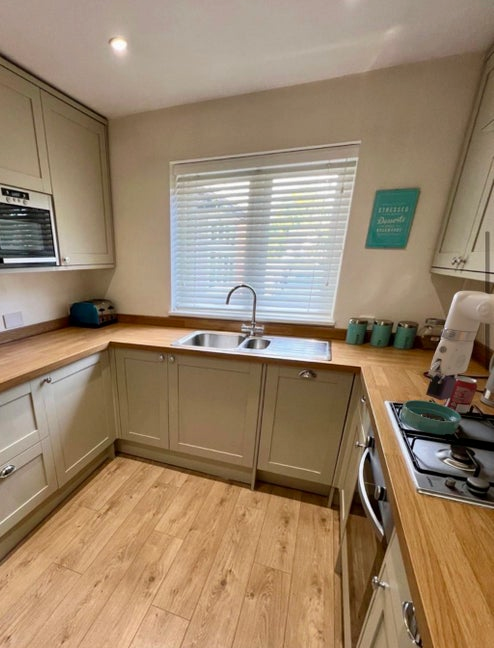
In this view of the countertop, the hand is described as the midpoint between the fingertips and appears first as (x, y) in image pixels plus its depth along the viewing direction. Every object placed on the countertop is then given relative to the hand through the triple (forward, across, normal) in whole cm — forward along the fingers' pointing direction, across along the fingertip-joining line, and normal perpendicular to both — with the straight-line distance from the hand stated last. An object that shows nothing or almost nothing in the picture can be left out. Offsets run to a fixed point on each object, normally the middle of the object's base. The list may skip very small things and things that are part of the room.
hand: (439, 392), depth 102 cm
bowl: (+11, 0, +1) cm, 11 cm away
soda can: (+11, +19, +4) cm, 23 cm away
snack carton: (+1, 0, 0) cm, 1 cm away
